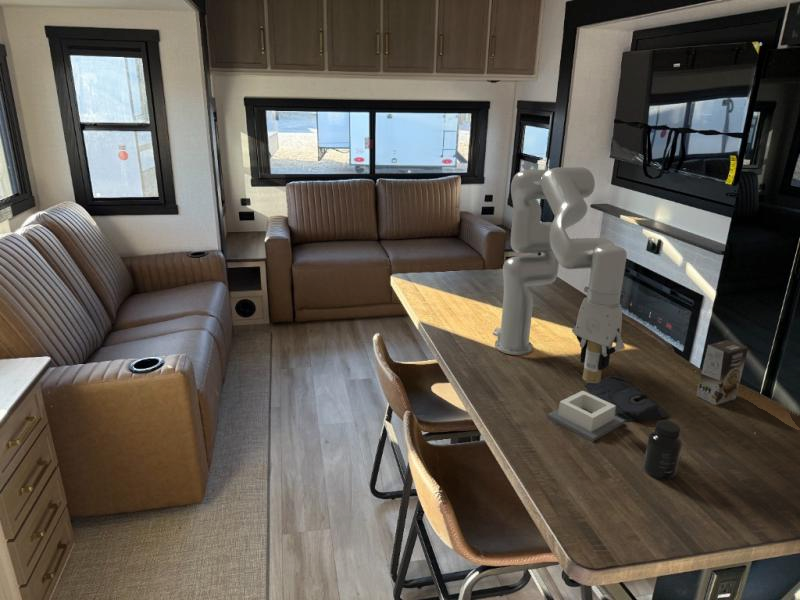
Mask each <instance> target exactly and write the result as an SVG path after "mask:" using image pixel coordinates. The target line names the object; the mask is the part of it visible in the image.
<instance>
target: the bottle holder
mask: <svg viewBox="0 0 800 600" xmlns="http://www.w3.org/2000/svg"><path fill="white" fill-rule="evenodd" d="M558 405H559V406H558V408H557V409H554V410H553V411H551V412H549V413H547V414H546V418H547V419H548V420H551V421H552V422H555V423H557V425H558V424H559V425H561V427H564V428H565V429H568V430H569V431H572V432H573V433H574V434H577V435H579V436H581V437H583V438H585V439H587V440H588V441H590V442H592V443H593V442H595V441H597V440H598V439H601V437H603V436H605V435H607V434H609V433H611V432H612V431H615V430H616V429H618V428H619V427H621V426H622V425H625V420H623V419H621V418H619V417H617V416H615V415H614V414H615V408H616V406H615V405H613V404H611V403H609V402H607V401H604V400H602V399H600V398H598V397H596V396H594V395H592V394H591V393H590V392H587V391H584V390H581V391H579V392H577V393H575V394H574V393H573V394H572V395H570V396H568V397H566V398H564V399H562V400H560V401H559V404H558Z"/></svg>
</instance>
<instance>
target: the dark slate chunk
mask: <svg viewBox="0 0 800 600" xmlns="http://www.w3.org/2000/svg"><path fill="white" fill-rule="evenodd" d="M584 387H585V389H586V390H587V391H588V393H589V394H591V395H594V396H596V397H598V398H600V399H602V400H604V401H607V402H609V403H611V404H613V405H615V406H616V408H615V414H614V415H615V416H617V417H619V418H621V419H623V420H625V423H635V422H640V423H645V422H647V423H648V422H657V421H658V420H660V419H661V420H662V419H664V418H668V417H669V412H667V410H666V409H664V408H663V407H662V406H661V405H660V404H658V403H657V402H656V401H654V400H653V399H651V398H650V397H648V395H647V394H646V393H644V392H643V391H641V389H639V388H638V387H636V386H635V385H633V384H632V383H631V382H630V381H629V380H628V379H626V378H625V377H623V376H618V375H617V376H615V375H611V376H610V375H609V376H605V377H602V378H601V381H600V382H599V383H589V382H587V383H586V384H584ZM625 423H624V424H625Z"/></svg>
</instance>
